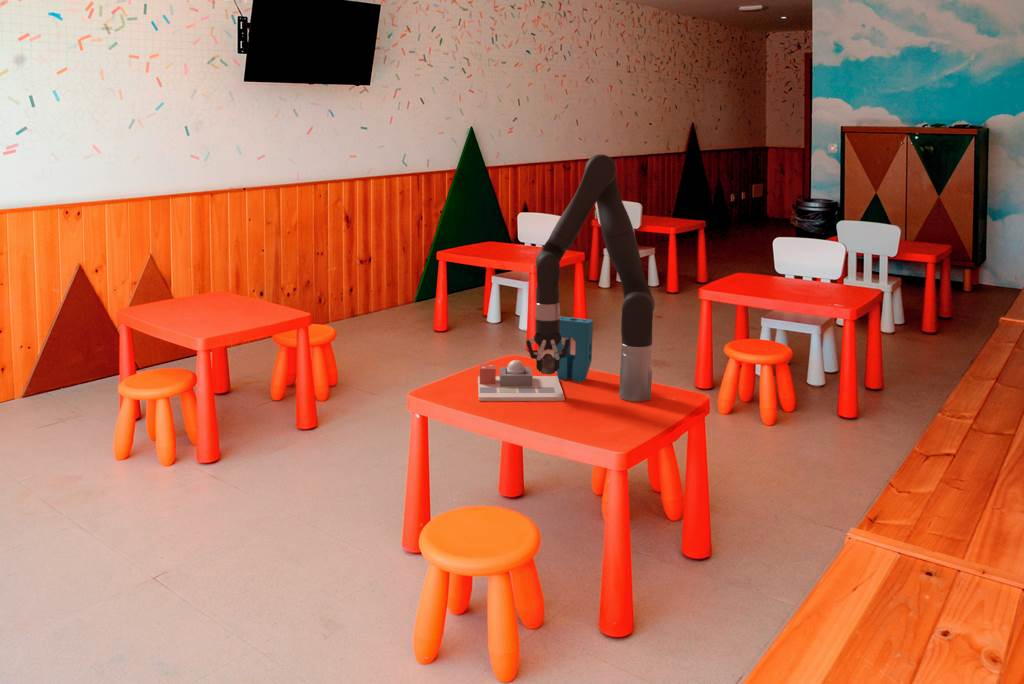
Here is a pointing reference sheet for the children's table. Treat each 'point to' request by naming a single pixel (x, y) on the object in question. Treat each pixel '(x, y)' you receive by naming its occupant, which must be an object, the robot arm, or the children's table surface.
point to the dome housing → (515, 378)
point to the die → (487, 374)
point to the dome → (515, 367)
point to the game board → (523, 390)
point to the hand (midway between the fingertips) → (547, 370)
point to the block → (582, 359)
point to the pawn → (547, 364)
